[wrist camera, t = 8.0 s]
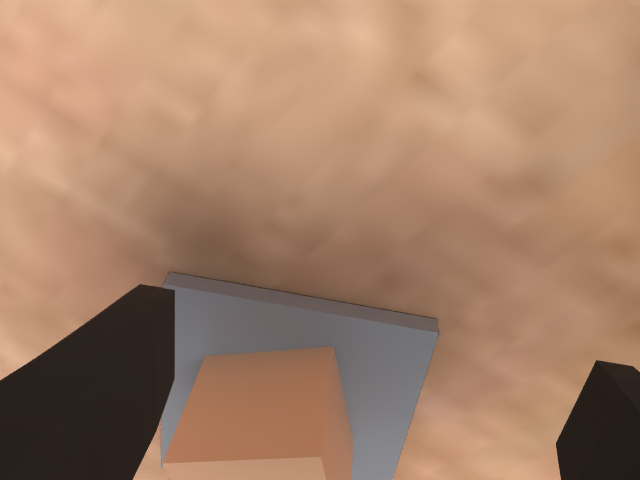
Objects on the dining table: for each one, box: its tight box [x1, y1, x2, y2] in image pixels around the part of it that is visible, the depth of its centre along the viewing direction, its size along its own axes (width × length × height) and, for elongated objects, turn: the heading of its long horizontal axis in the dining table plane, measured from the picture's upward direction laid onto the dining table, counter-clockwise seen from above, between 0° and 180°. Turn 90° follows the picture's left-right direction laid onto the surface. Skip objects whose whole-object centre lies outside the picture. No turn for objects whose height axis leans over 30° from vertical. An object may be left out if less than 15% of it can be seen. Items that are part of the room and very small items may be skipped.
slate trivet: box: [161, 272, 439, 480], centre depth 24 cm, size 10×10×1 cm
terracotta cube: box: [162, 346, 353, 480], centre depth 21 cm, size 5×5×5 cm
